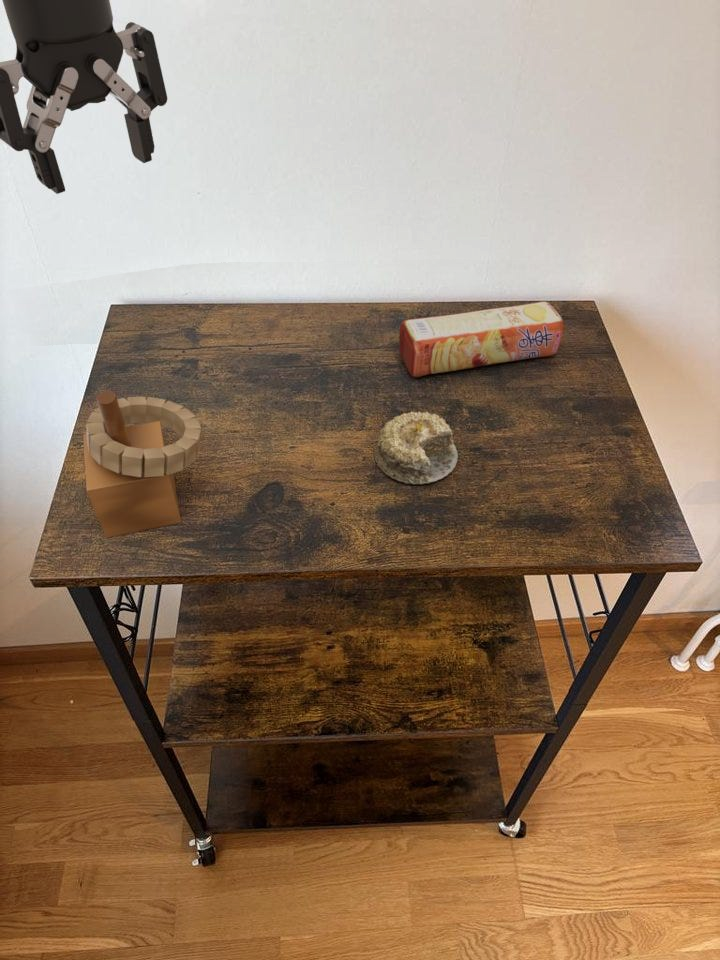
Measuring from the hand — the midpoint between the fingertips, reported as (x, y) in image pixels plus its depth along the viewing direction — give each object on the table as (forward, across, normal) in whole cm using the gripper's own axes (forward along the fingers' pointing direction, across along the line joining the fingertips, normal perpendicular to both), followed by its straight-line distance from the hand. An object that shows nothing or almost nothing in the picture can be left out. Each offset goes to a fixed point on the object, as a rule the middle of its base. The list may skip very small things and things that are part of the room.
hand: (101, 173), depth 65 cm
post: (+32, -9, -8) cm, 34 cm away
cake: (+32, +20, -23) cm, 44 cm away
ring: (+24, -6, -8) cm, 26 cm away
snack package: (+32, +39, -16) cm, 53 cm away
